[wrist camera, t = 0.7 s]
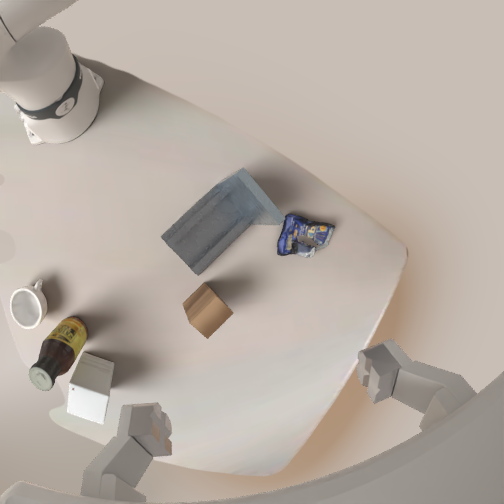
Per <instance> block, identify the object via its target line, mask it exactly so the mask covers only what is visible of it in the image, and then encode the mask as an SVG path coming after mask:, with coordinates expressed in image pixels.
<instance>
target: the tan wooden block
mask: <svg viewBox="0 0 504 504" xmlns="http://www.w3.org/2000/svg"><path fill="white" fill-rule="evenodd" d="M183 306H184V309H185V312H186V315H187V317H188V320H189V323H190V324H191V325H192V326H193V327H195V328H196V329H197V330H198V331H199V332H200V333H201V334H203V335H204V336H205V337H206V338H207V339H208V338H209V337H210V336H211V335H212V334H213V333H214V332H215V331H216V330H217V329H218V328H219V327H220V326H221V325H222V324H223V323H224V322H225V321H226V320H227V319H228V318H229V317H230V316H231V315H232V314H233V312H232V311H231V309H230V308H229V307H228V306H227V305H226V304H225V303H224V302H223V301H222V300H221V298H220V297H219V296H218V295H217V294H216V293H215V292H214V291H213V290H212V289H211V288H210V287H209V286H208V285H207V284H206V283H205V282H204V283H203V284H202V285H201V286H200V287H199V288H198V289H197V290H196V291H195V292H194V293H193V294H192V295H191V296H190V297H189V298H188V299H187V300H186V301H185V302H184V303H183Z"/></svg>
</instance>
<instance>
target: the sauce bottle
mask: <svg viewBox="0 0 504 504" xmlns="http://www.w3.org/2000/svg"><path fill="white" fill-rule="evenodd" d="M87 334H88V331H87V327H86V325H85V324H84V322H83V321H81V320H80V319H78V318H76V317H69V318H66V319H64V320H62V321H61V323H60V324H59V325H58V326H57V327H56V328H55V329H54V330H53V331H52V332H51V333H50V335H49V336H48V337H47V338H46V339H45V340H44V341H43V343H42V347H41V350H40V354H39V359H38V361H37V363H35V364H34V365H33V366H32V367H31V369H30V371H29V377H30V380H31V382H32V383H33V384H34V386H36V388H38V389H40V390H42V391H49V390H50V389H51V388H52V386H53V385H54V383H55V379H56V377H57V376H60V375H63V374H65V373H66V372H68V370H69V369H70V368H71V366H72V365H73V363H74V361H75V360H76V358H77V356H78V354H79V353H80V351H81V349H82V347H83V346H84V344H85V342H86V339H87Z"/></svg>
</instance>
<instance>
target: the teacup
mask: <svg viewBox="0 0 504 504" xmlns="http://www.w3.org/2000/svg"><path fill="white" fill-rule="evenodd" d="M42 282H43V281H42V280H41V279H39V280H38V281H37V283H36V284H35V286H26V287H22V288H19V289H17V290H16V291H15V292H14V293H13V294H12V297H11V300H10V310H11V314H12V316H13V318H14V320H15V321H16V322H17V324H19V325H20V326H21V327H23V328H26V329H32V328H35V327H37V326H38V325H39V324H40V323H41V322H42V320H43V319H44V317H45V315H46V312H47V301H46V298H45V296H44V294H43V293H42V291H41V287H42Z"/></svg>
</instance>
